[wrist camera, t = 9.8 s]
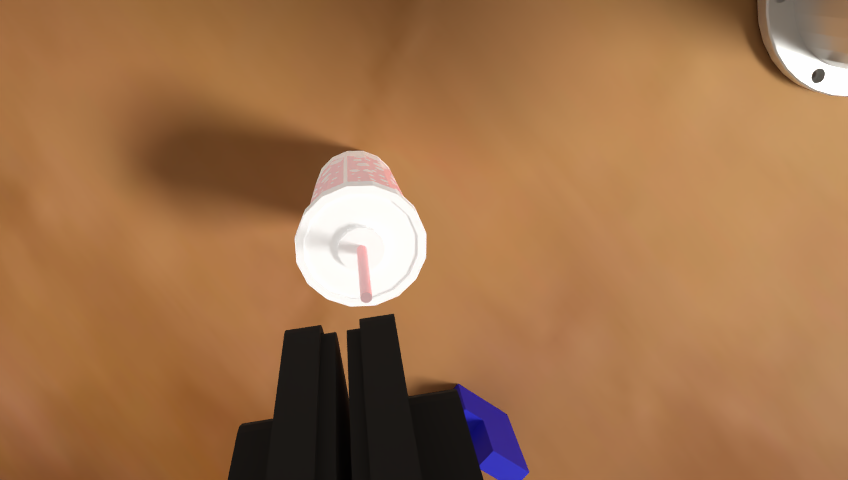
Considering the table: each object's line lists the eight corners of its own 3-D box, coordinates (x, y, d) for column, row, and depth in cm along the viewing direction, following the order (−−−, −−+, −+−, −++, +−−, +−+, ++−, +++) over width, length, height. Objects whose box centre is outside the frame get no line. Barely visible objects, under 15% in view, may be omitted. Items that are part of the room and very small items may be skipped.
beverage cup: (317, 247, 41) (309, 378, 28) (290, 149, 38) (268, 244, 25) (417, 225, 41) (454, 345, 28) (396, 126, 39) (427, 209, 26)
